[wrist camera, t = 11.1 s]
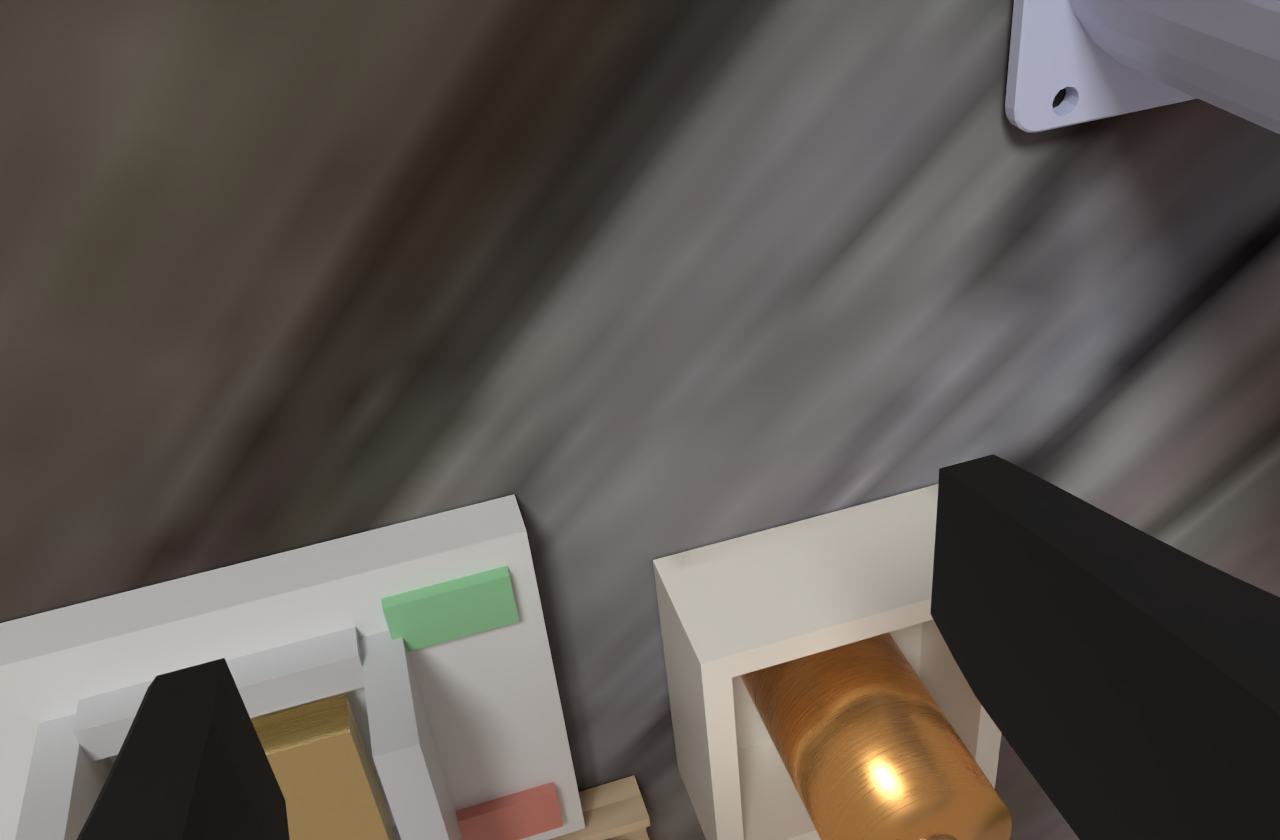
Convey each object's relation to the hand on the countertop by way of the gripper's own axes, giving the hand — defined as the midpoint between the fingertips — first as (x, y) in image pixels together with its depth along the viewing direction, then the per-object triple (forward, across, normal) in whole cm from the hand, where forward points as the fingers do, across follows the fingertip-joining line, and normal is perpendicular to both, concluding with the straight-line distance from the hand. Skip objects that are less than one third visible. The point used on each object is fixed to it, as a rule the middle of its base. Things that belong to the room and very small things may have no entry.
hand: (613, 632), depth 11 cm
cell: (+9, -6, +11) cm, 16 cm away
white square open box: (+10, -6, +12) cm, 16 cm away
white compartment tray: (+10, +6, +10) cm, 15 cm away
